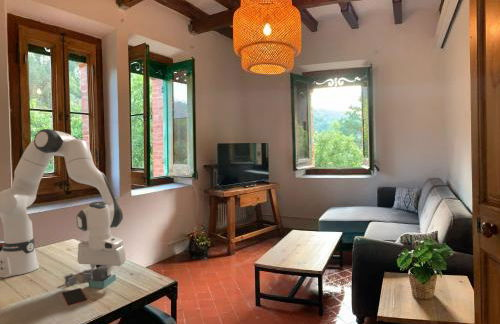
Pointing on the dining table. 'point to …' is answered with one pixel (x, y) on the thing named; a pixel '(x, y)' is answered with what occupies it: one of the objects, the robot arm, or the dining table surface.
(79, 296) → the smartphone
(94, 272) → the connector plug
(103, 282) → the dock
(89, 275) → the clip
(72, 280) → the clip
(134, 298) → the dining table surface
